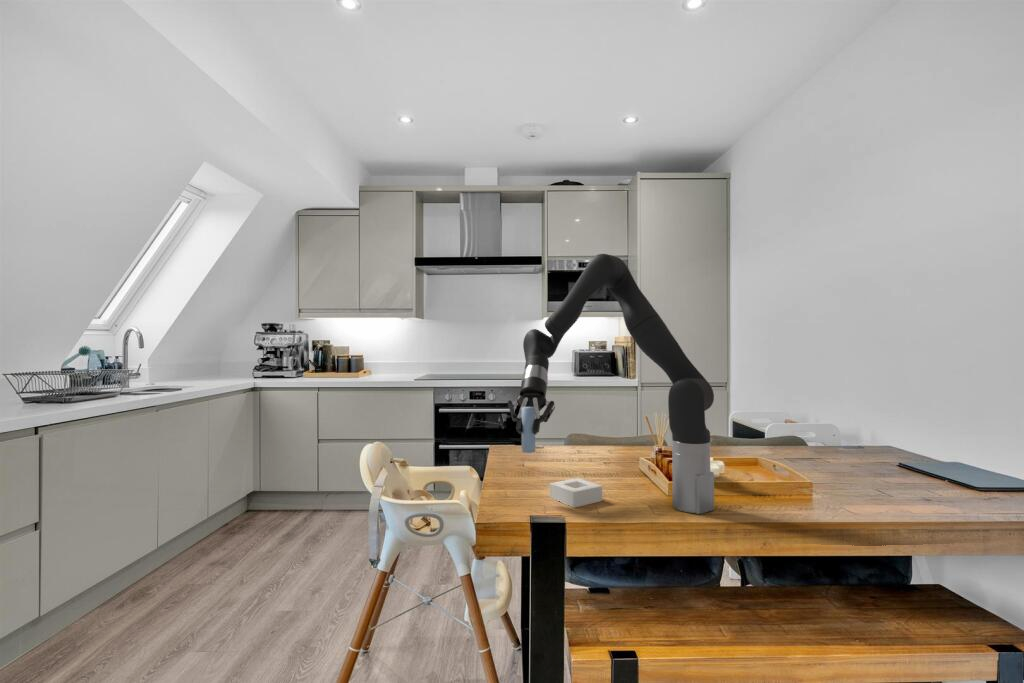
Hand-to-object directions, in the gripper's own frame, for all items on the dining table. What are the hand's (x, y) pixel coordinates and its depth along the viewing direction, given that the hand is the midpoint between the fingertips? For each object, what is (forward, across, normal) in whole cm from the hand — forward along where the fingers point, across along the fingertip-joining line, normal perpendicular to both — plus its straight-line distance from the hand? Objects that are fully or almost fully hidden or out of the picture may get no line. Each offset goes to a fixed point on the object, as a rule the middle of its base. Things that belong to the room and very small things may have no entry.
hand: (527, 432), depth 141 cm
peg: (+2, 0, +5) cm, 6 cm away
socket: (+11, +12, +16) cm, 23 cm away
